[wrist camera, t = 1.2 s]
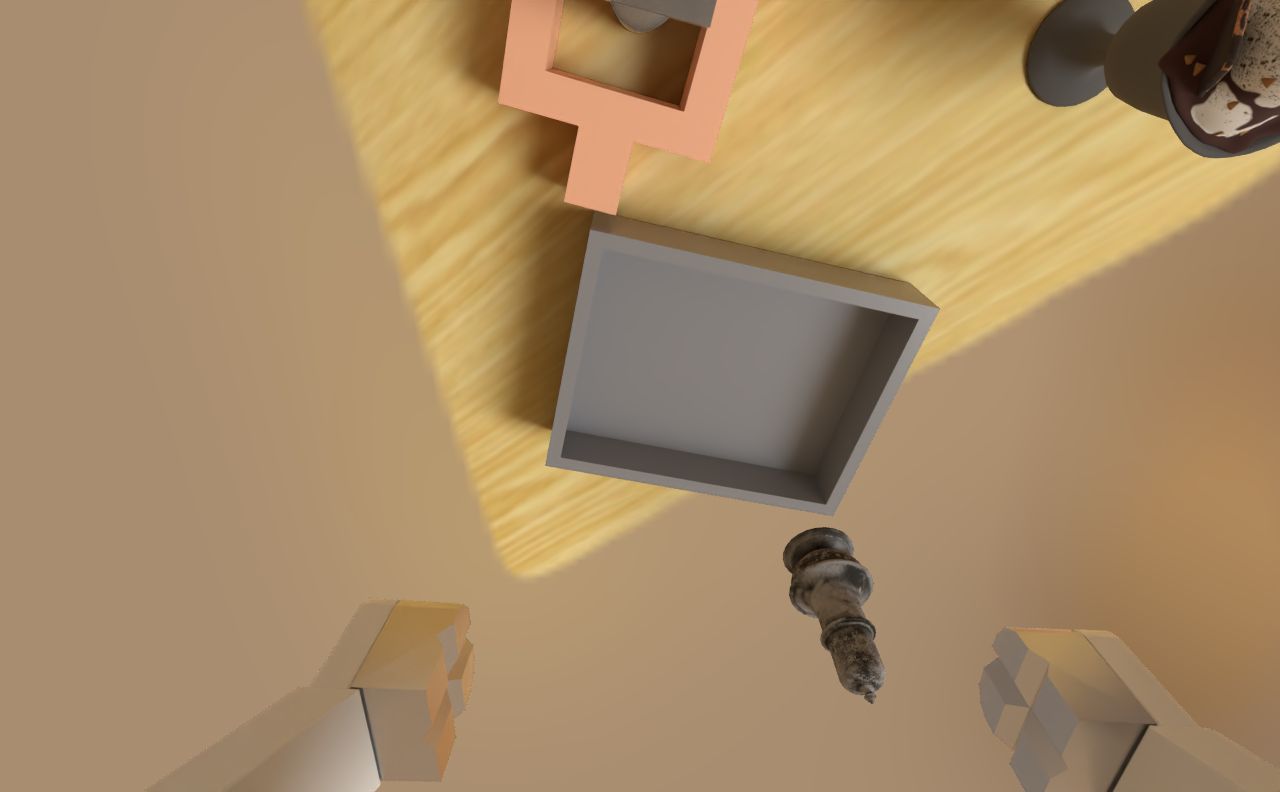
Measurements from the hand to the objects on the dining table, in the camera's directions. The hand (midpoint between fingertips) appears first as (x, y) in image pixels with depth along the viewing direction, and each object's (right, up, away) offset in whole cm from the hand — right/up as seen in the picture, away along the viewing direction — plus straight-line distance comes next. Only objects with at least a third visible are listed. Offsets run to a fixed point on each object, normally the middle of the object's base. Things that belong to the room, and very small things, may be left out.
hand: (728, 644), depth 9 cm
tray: (+4, +6, +28) cm, 29 cm away
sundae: (+20, +21, +20) cm, 35 cm away
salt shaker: (+12, -8, +36) cm, 39 cm away
